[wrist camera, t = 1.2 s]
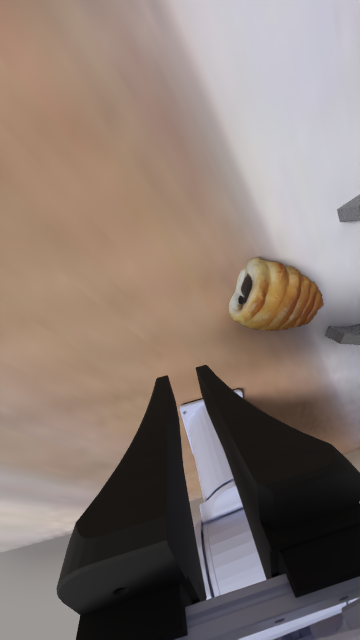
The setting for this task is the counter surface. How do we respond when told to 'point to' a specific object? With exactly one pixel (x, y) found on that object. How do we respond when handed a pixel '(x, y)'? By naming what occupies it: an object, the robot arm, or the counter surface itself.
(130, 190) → the counter surface
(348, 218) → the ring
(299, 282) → the pastry
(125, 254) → the counter surface
